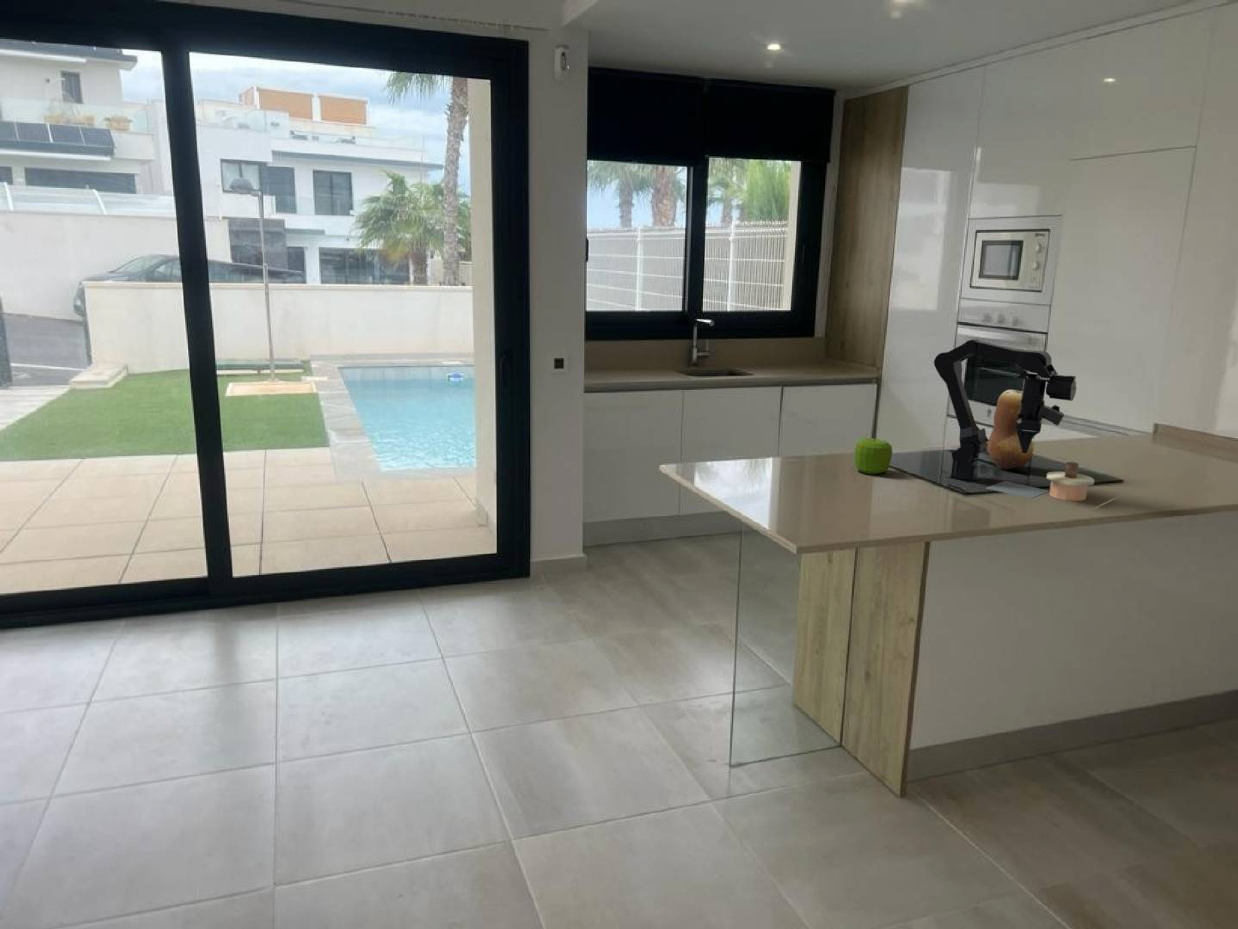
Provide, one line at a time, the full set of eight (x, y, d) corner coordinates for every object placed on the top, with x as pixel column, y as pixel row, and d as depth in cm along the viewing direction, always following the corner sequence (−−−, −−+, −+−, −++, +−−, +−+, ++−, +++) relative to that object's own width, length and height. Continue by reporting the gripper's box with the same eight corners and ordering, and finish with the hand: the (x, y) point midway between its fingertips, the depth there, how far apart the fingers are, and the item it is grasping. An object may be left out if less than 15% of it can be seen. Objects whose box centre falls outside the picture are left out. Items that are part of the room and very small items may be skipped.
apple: (897, 475, 269) (901, 440, 266) (866, 477, 265) (870, 441, 262) (875, 466, 279) (879, 432, 276) (845, 468, 275) (849, 433, 273)
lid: (1039, 479, 250) (1042, 461, 249) (1056, 472, 258) (1059, 456, 257) (1084, 488, 241) (1087, 470, 240) (1100, 481, 249) (1103, 464, 248)
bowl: (1044, 496, 251) (1047, 479, 250) (1057, 491, 257) (1059, 474, 256) (1077, 503, 245) (1080, 486, 243) (1089, 498, 251) (1092, 481, 249)
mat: (985, 489, 256) (985, 488, 256) (1004, 482, 265) (1005, 481, 265) (1030, 499, 247) (1030, 498, 247) (1049, 492, 256) (1049, 490, 256)
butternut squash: (1036, 475, 275) (1048, 395, 269) (993, 473, 275) (1004, 393, 269) (1018, 464, 288) (1029, 388, 282) (976, 462, 289) (987, 386, 282)
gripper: (1065, 403, 238) (1056, 460, 242) (1064, 394, 255) (1055, 447, 259) (1020, 399, 243) (1012, 455, 247) (1021, 390, 259) (1014, 442, 263)
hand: (1024, 449), depth 254 cm, fingers open, 9 cm apart
